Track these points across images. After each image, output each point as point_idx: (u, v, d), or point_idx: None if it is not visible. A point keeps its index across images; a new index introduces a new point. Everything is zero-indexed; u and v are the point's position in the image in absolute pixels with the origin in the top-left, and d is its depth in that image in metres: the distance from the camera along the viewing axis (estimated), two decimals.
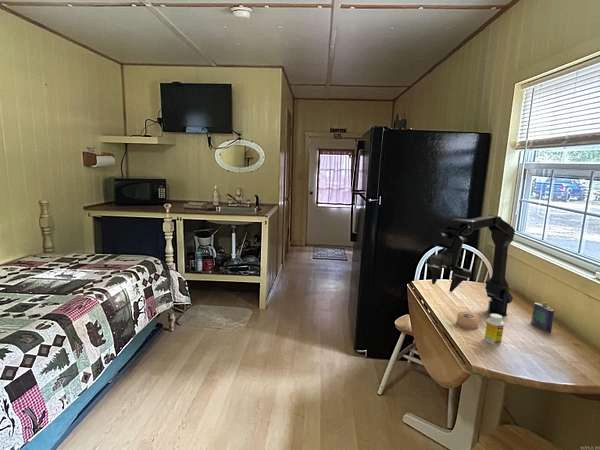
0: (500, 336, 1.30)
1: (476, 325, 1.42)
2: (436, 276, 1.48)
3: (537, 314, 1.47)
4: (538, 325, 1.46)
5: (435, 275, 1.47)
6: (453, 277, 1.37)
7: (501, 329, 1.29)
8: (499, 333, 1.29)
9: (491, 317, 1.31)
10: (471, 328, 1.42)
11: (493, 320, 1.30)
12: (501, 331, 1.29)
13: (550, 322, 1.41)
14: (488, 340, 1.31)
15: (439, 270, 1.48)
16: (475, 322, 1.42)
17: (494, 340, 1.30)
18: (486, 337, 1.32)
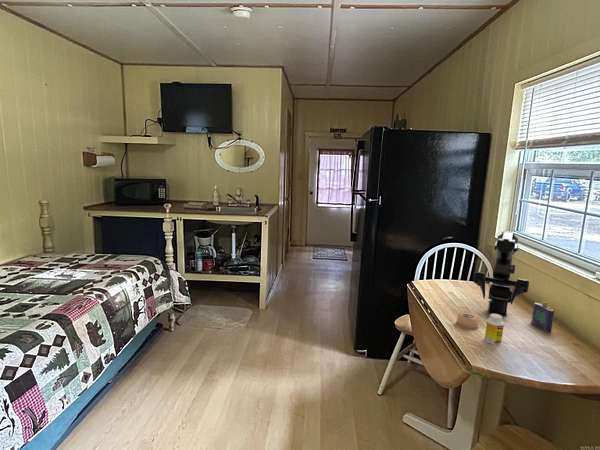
0: (500, 336, 1.30)
1: (476, 325, 1.42)
2: None
3: (537, 314, 1.47)
4: (538, 325, 1.46)
5: None
6: (517, 288, 1.35)
7: (501, 329, 1.29)
8: (499, 333, 1.29)
9: (491, 317, 1.31)
10: (471, 328, 1.42)
11: (493, 320, 1.30)
12: (501, 331, 1.29)
13: (550, 322, 1.41)
14: (488, 340, 1.31)
15: None
16: (475, 322, 1.42)
17: (494, 340, 1.30)
18: (486, 337, 1.32)
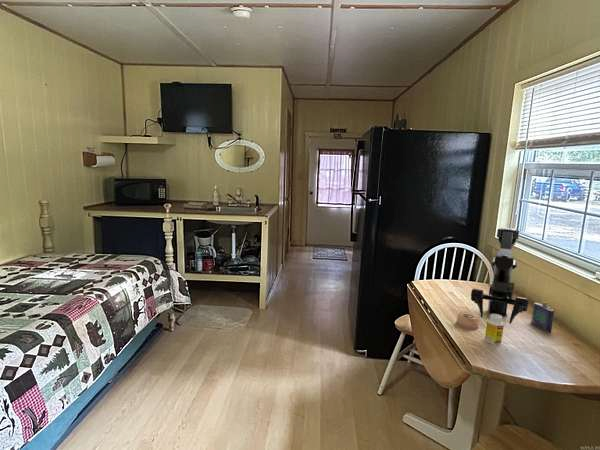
0: (500, 336, 1.30)
1: (476, 325, 1.42)
2: (482, 309, 1.36)
3: (537, 314, 1.47)
4: (538, 325, 1.46)
5: (482, 308, 1.36)
6: (516, 307, 1.30)
7: (501, 329, 1.29)
8: (499, 333, 1.29)
9: (491, 317, 1.31)
10: (471, 328, 1.42)
11: (493, 320, 1.30)
12: (501, 331, 1.29)
13: (550, 322, 1.41)
14: (488, 340, 1.31)
15: None
16: (475, 322, 1.42)
17: (494, 340, 1.30)
18: (486, 337, 1.32)
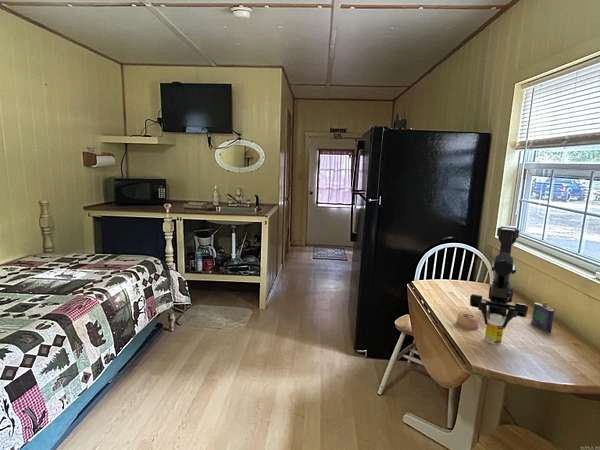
0: (500, 336, 1.29)
1: (476, 325, 1.42)
2: (486, 316, 1.34)
3: (537, 314, 1.47)
4: (538, 325, 1.46)
5: (486, 314, 1.34)
6: (510, 312, 1.29)
7: (501, 329, 1.29)
8: (499, 333, 1.29)
9: (491, 317, 1.31)
10: (471, 328, 1.42)
11: (493, 320, 1.30)
12: (501, 331, 1.29)
13: (550, 322, 1.41)
14: (488, 340, 1.31)
15: None
16: (475, 322, 1.42)
17: (494, 340, 1.30)
18: (486, 337, 1.32)
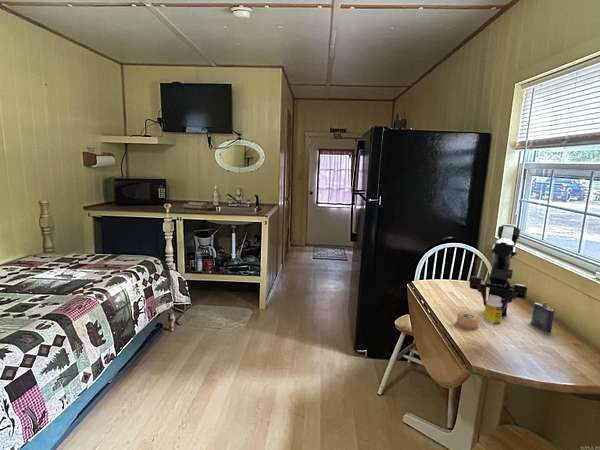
0: (499, 317, 1.30)
1: (476, 325, 1.42)
2: None
3: (537, 314, 1.47)
4: (538, 325, 1.46)
5: None
6: (509, 293, 1.29)
7: (500, 310, 1.29)
8: (498, 314, 1.29)
9: (490, 298, 1.31)
10: (471, 328, 1.42)
11: (492, 301, 1.30)
12: (500, 312, 1.29)
13: (550, 322, 1.41)
14: (487, 321, 1.31)
15: None
16: (475, 322, 1.42)
17: (492, 321, 1.30)
18: (485, 318, 1.32)
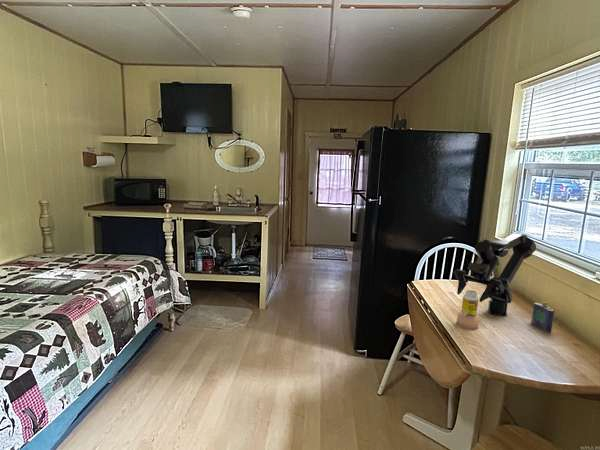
0: (472, 310, 1.42)
1: (476, 325, 1.42)
2: (462, 288, 1.48)
3: (537, 314, 1.47)
4: (538, 325, 1.46)
5: (461, 286, 1.48)
6: (488, 287, 1.39)
7: (473, 304, 1.42)
8: (471, 307, 1.42)
9: (466, 292, 1.44)
10: (471, 328, 1.42)
11: (467, 295, 1.43)
12: (473, 305, 1.42)
13: (550, 322, 1.41)
14: (462, 313, 1.45)
15: (465, 284, 1.50)
16: (475, 322, 1.42)
17: (466, 313, 1.43)
18: (461, 310, 1.46)
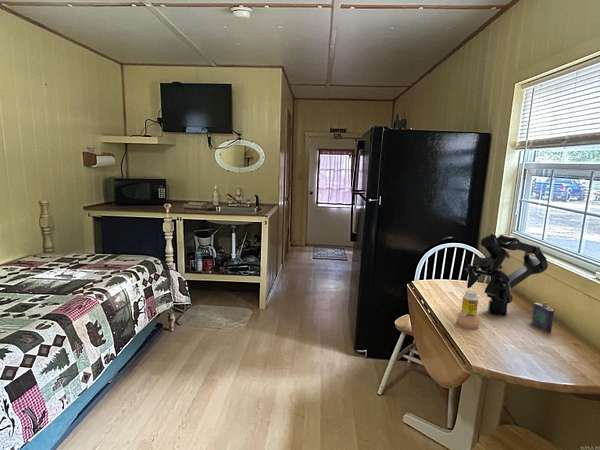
0: (472, 310, 1.42)
1: (476, 325, 1.42)
2: (472, 282, 1.56)
3: (537, 314, 1.47)
4: (538, 325, 1.46)
5: (472, 280, 1.55)
6: (491, 278, 1.45)
7: (473, 304, 1.42)
8: (471, 307, 1.42)
9: (466, 292, 1.44)
10: (471, 328, 1.42)
11: (467, 295, 1.43)
12: (473, 305, 1.42)
13: (550, 322, 1.41)
14: (462, 313, 1.45)
15: (476, 278, 1.57)
16: (475, 322, 1.42)
17: (466, 313, 1.43)
18: (461, 310, 1.46)
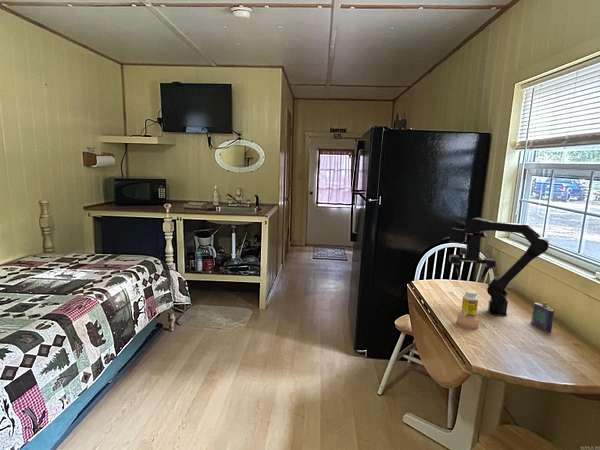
0: (472, 310, 1.42)
1: (476, 325, 1.42)
2: (482, 273, 1.62)
3: (537, 314, 1.47)
4: (538, 325, 1.46)
5: (482, 272, 1.63)
6: None
7: (473, 304, 1.42)
8: (471, 307, 1.42)
9: (466, 292, 1.44)
10: (471, 328, 1.42)
11: (466, 295, 1.43)
12: (473, 305, 1.42)
13: (550, 322, 1.41)
14: (462, 313, 1.45)
15: (484, 268, 1.61)
16: (475, 322, 1.42)
17: (466, 313, 1.43)
18: (461, 310, 1.46)
